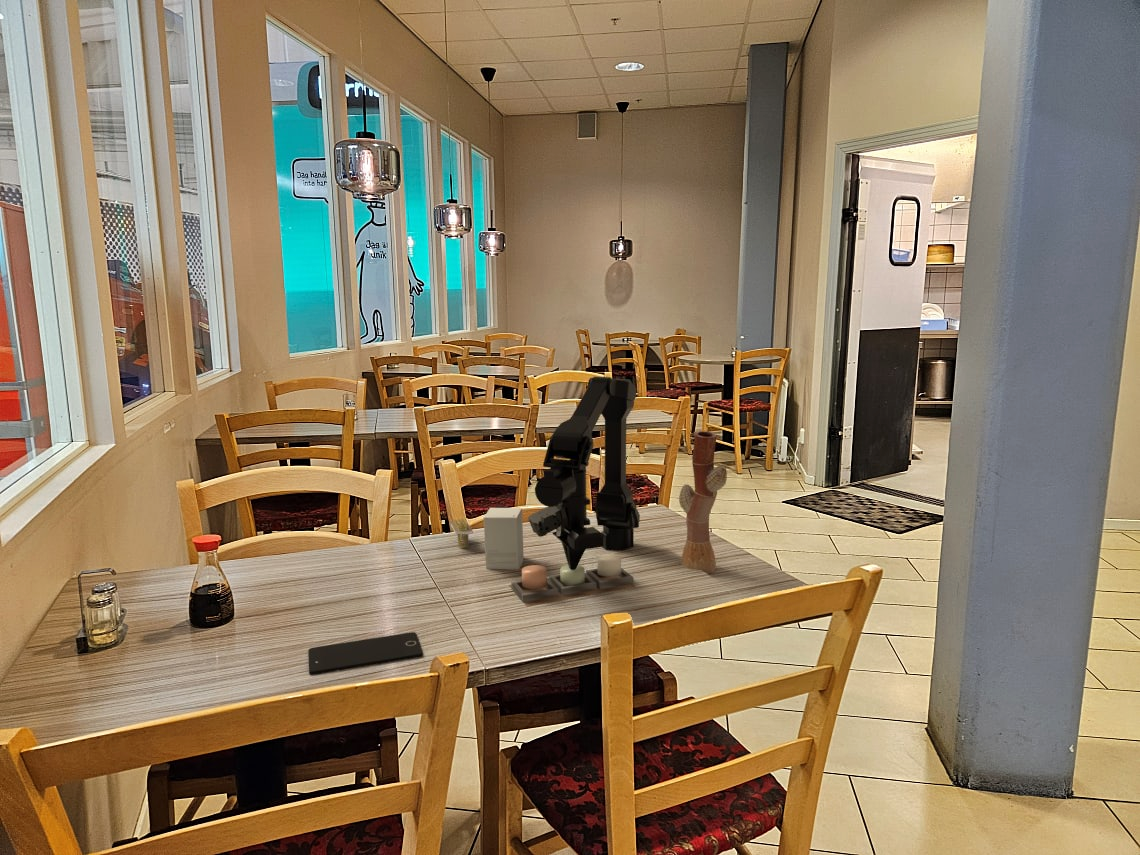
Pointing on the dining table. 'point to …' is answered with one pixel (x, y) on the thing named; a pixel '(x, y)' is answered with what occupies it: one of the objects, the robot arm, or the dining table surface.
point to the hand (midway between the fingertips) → (572, 569)
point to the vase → (701, 503)
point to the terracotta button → (534, 577)
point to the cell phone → (363, 653)
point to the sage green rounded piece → (572, 576)
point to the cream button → (609, 565)
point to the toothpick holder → (462, 531)
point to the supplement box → (503, 538)
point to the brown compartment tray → (572, 588)
